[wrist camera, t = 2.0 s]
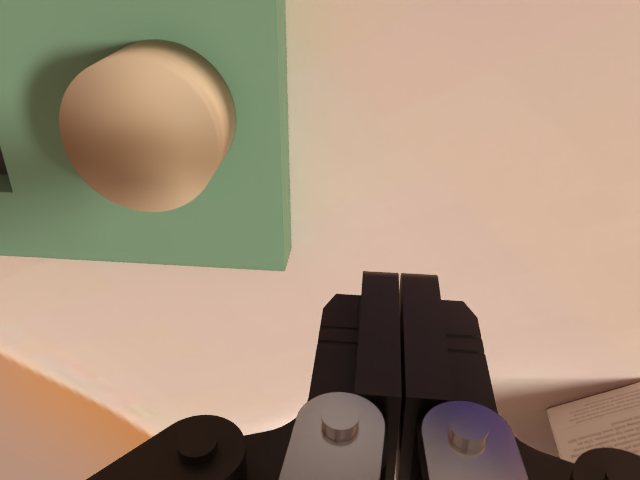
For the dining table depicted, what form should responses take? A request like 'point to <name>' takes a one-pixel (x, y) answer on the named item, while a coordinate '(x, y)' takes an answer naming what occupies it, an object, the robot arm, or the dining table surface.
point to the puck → (148, 125)
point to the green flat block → (95, 210)
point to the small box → (598, 423)
